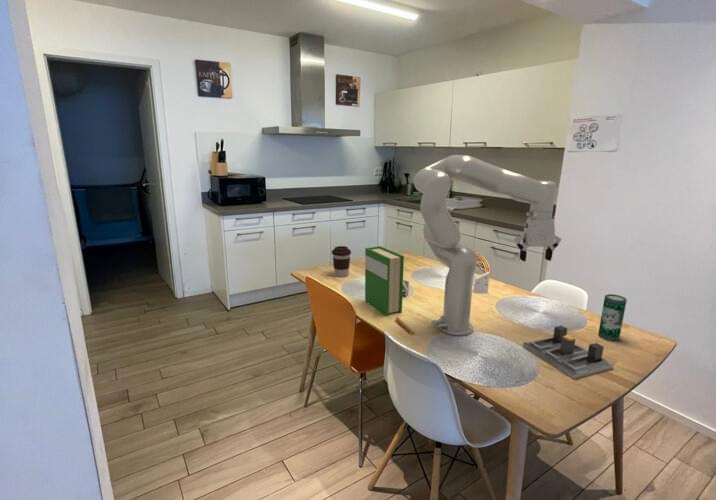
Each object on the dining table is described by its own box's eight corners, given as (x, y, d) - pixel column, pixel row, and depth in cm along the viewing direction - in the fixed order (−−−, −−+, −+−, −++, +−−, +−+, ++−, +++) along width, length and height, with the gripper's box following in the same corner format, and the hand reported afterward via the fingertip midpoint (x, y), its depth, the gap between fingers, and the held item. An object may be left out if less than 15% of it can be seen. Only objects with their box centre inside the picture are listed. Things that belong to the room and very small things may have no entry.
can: (596, 336, 137) (603, 297, 133) (601, 331, 141) (608, 292, 137) (616, 342, 133) (624, 302, 129) (620, 337, 137) (628, 297, 133)
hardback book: (401, 312, 157) (403, 255, 151) (386, 316, 154) (387, 258, 148) (379, 298, 172) (380, 246, 166) (365, 301, 169) (365, 248, 163)
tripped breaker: (566, 355, 121) (568, 339, 120) (559, 351, 124) (561, 336, 122) (573, 353, 122) (575, 338, 121) (566, 349, 125) (568, 334, 123)
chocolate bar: (409, 336, 138) (409, 330, 138) (393, 322, 149) (393, 317, 148) (415, 334, 139) (415, 329, 139) (399, 321, 150) (399, 316, 149)
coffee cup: (330, 273, 207) (329, 246, 203) (348, 271, 209) (347, 244, 206) (334, 278, 197) (334, 250, 194) (353, 277, 200) (353, 249, 196)
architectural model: (403, 298, 173) (403, 283, 171) (392, 294, 178) (392, 279, 176) (408, 297, 175) (409, 281, 173) (397, 292, 180) (398, 277, 178)
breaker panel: (574, 379, 112) (577, 358, 110) (522, 347, 130) (525, 328, 128) (613, 368, 117) (616, 348, 115) (558, 339, 135) (561, 321, 134)
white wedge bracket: (497, 288, 177) (489, 272, 175) (477, 298, 179) (469, 282, 178) (495, 286, 180) (487, 270, 179) (476, 295, 183) (467, 280, 181)
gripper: (522, 217, 137) (517, 263, 141) (569, 216, 138) (563, 262, 142) (513, 213, 144) (508, 257, 148) (558, 213, 145) (552, 257, 149)
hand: (535, 260), depth 145 cm, fingers open, 9 cm apart
